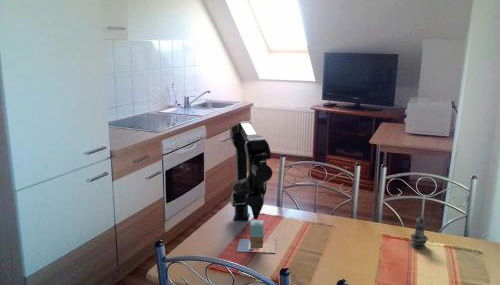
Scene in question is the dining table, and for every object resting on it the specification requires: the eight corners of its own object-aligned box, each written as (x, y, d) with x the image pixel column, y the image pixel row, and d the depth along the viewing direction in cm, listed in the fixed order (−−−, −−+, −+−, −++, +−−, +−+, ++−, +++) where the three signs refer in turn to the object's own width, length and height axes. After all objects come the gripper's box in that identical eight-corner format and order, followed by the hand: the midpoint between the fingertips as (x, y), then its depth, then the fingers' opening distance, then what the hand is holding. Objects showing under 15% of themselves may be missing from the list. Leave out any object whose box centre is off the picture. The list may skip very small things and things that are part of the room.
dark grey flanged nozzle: (426, 243, 154) (429, 213, 151) (427, 251, 149) (430, 220, 146) (409, 241, 156) (412, 211, 153) (410, 248, 150) (412, 218, 148)
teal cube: (251, 231, 155) (251, 220, 154) (263, 231, 154) (263, 220, 153) (250, 236, 150) (250, 225, 149) (262, 237, 150) (262, 225, 149)
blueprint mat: (240, 239, 159) (240, 238, 159) (276, 240, 158) (276, 239, 158) (236, 252, 150) (236, 251, 149) (275, 253, 148) (275, 252, 148)
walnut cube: (251, 242, 156) (251, 231, 155) (263, 242, 155) (263, 231, 154) (250, 248, 152) (250, 236, 151) (262, 248, 151) (262, 237, 150)
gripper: (237, 164, 157) (238, 203, 160) (230, 180, 139) (231, 224, 142) (266, 165, 155) (267, 204, 159) (263, 181, 137) (263, 225, 141)
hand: (256, 213), depth 150 cm, fingers open, 9 cm apart
